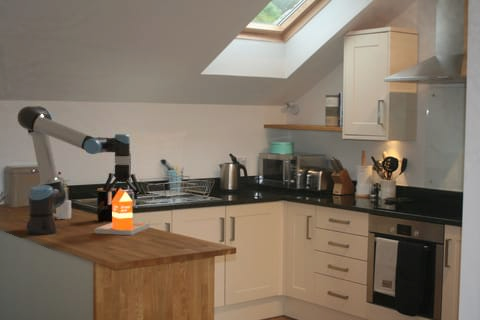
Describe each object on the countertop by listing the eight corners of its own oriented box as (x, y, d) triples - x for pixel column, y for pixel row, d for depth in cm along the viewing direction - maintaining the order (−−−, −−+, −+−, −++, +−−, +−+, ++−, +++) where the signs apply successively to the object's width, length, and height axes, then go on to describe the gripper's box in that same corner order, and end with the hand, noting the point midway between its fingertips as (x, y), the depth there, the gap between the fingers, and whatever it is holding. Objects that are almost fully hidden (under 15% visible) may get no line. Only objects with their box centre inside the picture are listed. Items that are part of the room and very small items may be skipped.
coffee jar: (93, 220, 392) (93, 188, 391) (109, 218, 400) (108, 187, 399) (105, 222, 385) (104, 190, 384) (120, 220, 393) (120, 188, 392)
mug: (53, 220, 391) (53, 202, 390) (47, 218, 397) (47, 201, 396) (73, 218, 398) (73, 200, 397) (67, 217, 404) (67, 199, 404)
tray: (131, 235, 346) (131, 230, 346) (94, 233, 351) (94, 228, 351) (149, 227, 369) (149, 223, 369) (114, 225, 374) (114, 221, 374)
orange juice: (118, 230, 354) (118, 191, 353) (112, 227, 362) (111, 189, 360) (132, 228, 358) (132, 190, 357) (126, 226, 366) (125, 188, 364)
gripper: (147, 164, 358) (147, 205, 360) (103, 162, 364) (102, 202, 366) (141, 165, 351) (141, 207, 352) (96, 163, 357) (96, 204, 359)
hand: (121, 205), depth 359 cm, fingers open, 13 cm apart
